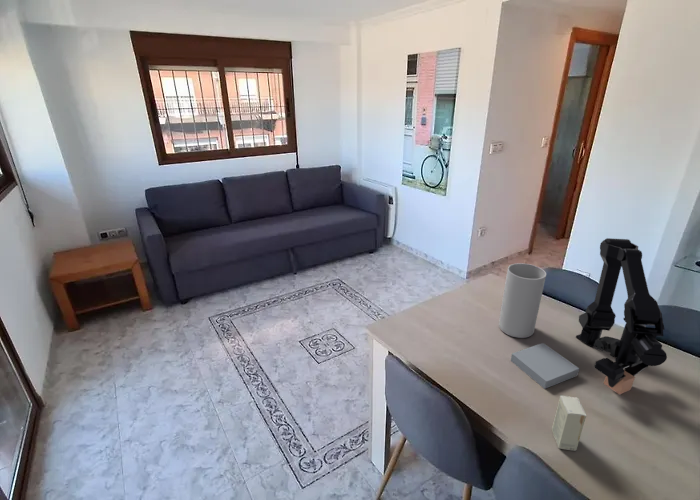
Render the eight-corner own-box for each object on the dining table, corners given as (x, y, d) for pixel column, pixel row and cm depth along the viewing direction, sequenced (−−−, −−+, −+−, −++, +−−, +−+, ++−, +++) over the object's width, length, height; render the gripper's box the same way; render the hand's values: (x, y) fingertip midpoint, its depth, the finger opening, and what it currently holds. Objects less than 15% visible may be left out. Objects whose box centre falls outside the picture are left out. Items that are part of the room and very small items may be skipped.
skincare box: (576, 451, 93) (587, 417, 88) (558, 449, 94) (568, 414, 89) (568, 430, 99) (578, 396, 94) (550, 428, 100) (560, 394, 95)
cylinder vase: (539, 338, 135) (552, 279, 125) (505, 339, 135) (515, 279, 125) (525, 319, 146) (536, 263, 136) (493, 319, 147) (502, 263, 137)
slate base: (541, 349, 129) (543, 342, 128) (577, 375, 117) (579, 368, 116) (510, 360, 125) (511, 353, 123) (544, 388, 113) (546, 381, 112)
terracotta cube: (614, 378, 116) (618, 366, 114) (630, 389, 112) (635, 377, 110) (603, 383, 114) (607, 371, 112) (619, 394, 110) (623, 382, 108)
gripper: (625, 319, 116) (612, 358, 122) (584, 334, 110) (572, 374, 116) (664, 340, 107) (648, 381, 113) (621, 357, 100) (606, 399, 107)
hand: (617, 383), depth 113 cm, fingers open, 6 cm apart
